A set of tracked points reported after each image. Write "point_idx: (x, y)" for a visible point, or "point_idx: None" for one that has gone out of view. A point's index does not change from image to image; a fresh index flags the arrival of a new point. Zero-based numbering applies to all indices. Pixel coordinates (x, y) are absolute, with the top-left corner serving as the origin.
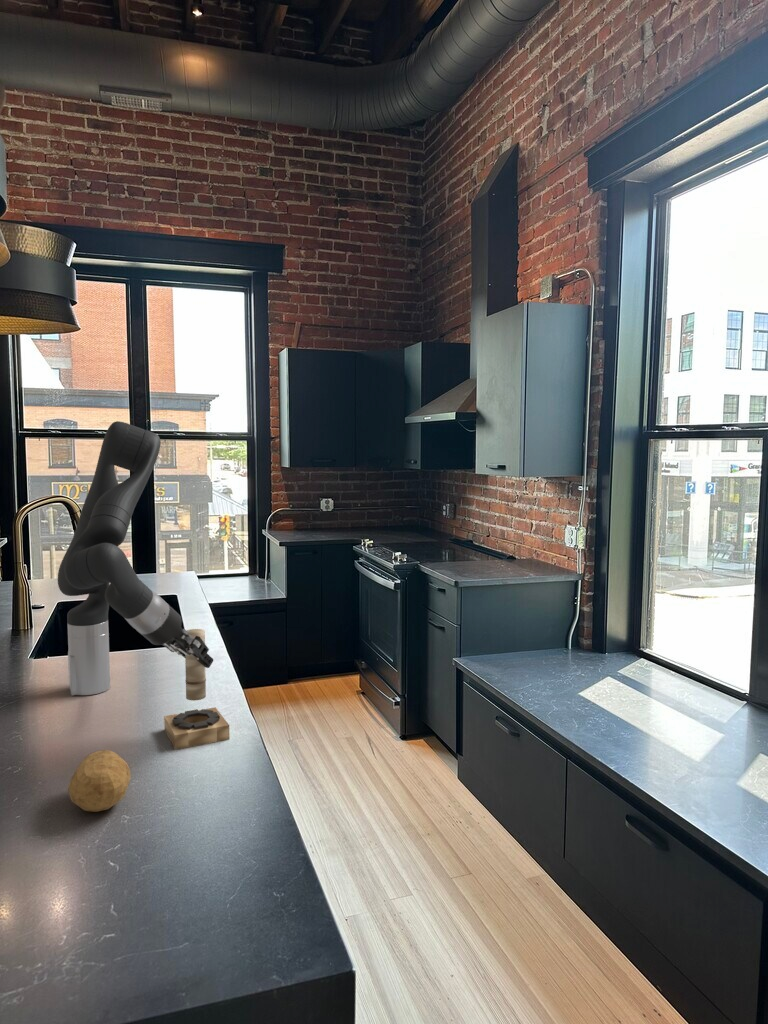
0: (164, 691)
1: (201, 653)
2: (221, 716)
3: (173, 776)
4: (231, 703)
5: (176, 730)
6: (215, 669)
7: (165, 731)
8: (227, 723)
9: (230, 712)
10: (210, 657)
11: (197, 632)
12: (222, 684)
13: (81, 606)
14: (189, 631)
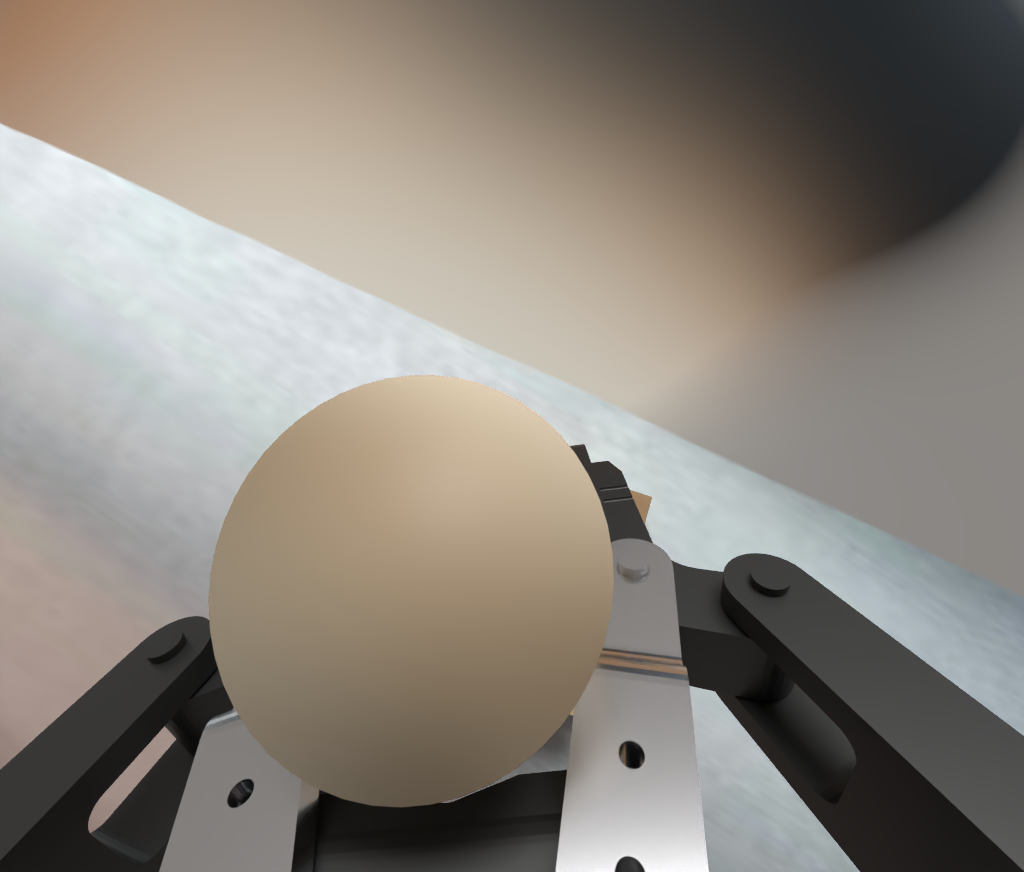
0: (102, 424)
1: (791, 685)
2: None
3: (794, 854)
4: (382, 327)
5: None
6: (98, 203)
7: None
8: (633, 493)
9: (444, 372)
10: (592, 469)
11: (521, 574)
12: (223, 258)
13: None
14: (325, 654)
